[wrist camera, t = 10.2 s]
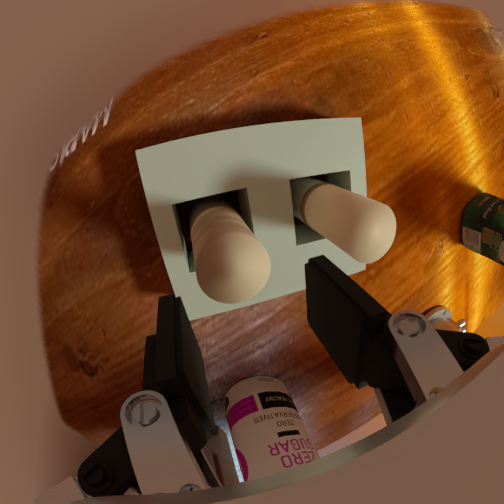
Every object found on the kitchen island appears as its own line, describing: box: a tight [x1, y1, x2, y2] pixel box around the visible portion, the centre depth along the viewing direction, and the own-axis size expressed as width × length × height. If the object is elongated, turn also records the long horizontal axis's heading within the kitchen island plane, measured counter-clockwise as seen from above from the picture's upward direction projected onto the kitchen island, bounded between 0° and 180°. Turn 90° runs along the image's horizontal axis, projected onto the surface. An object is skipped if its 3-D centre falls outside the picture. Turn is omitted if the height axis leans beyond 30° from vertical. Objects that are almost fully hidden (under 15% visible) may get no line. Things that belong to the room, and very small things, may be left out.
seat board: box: [135, 118, 396, 321], centre depth 18 cm, size 16×13×10 cm
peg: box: [189, 195, 271, 304], centre depth 17 cm, size 4×4×10 cm
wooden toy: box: [202, 426, 239, 486], centre depth 21 cm, size 16×7×25 cm, turn 18°
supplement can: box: [223, 376, 320, 482], centre depth 25 cm, size 8×8×15 cm
